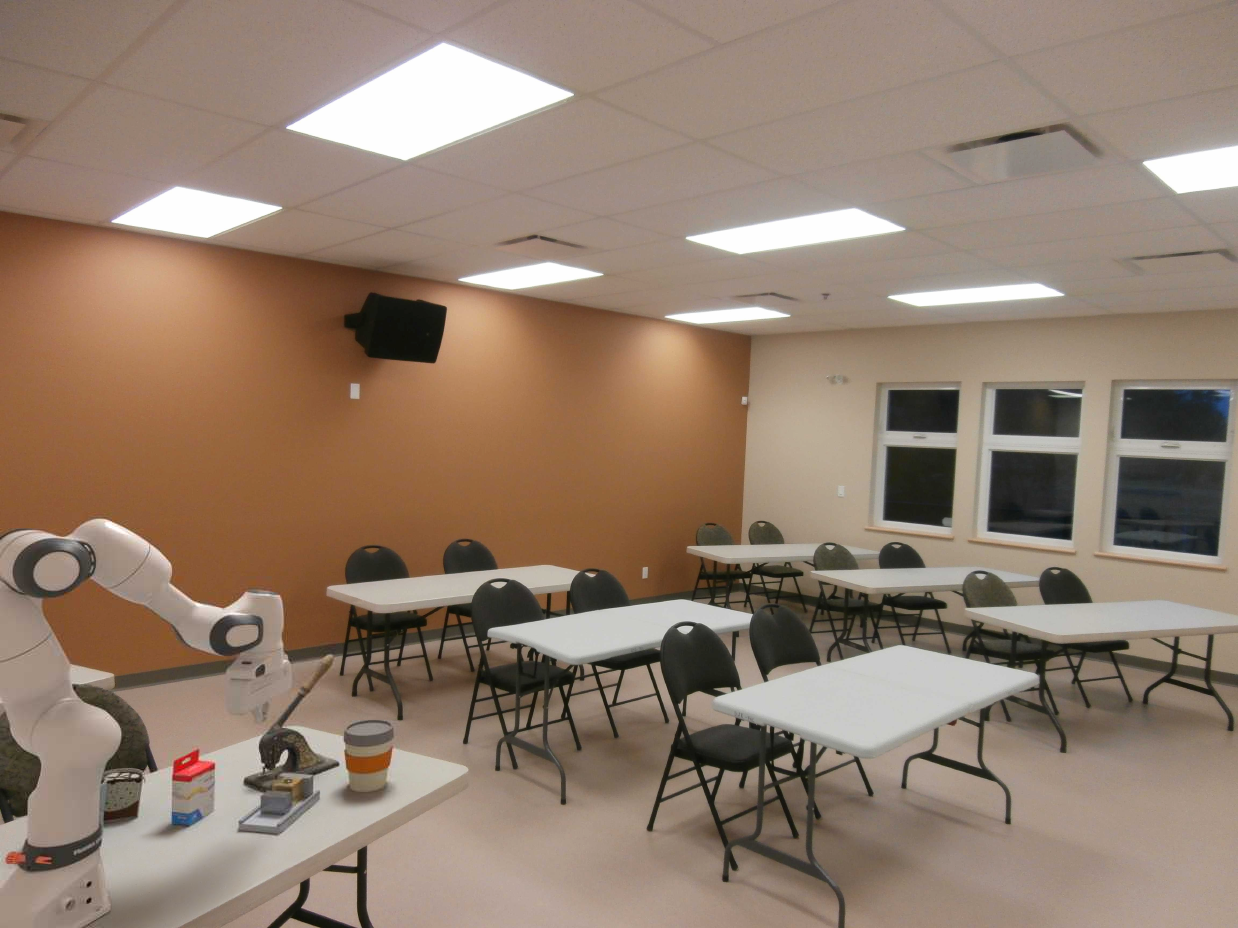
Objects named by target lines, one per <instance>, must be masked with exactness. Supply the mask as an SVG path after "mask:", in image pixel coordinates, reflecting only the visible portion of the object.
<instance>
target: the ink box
mask: <svg viewBox="0 0 1238 928" xmlns="http://www.w3.org/2000/svg"><path fill="white" fill-rule="evenodd" d="M199 756H200V749H199V748H197V749H195V750H193V751H190V752H189V753H187V754H184V755H182V756H181V757H179V758H176V759H175V760H174V761H173V763H172V764H173V765H172V773H171V825H179V826H188V827H190V826H191V825H193V824H195V823H197V822H198V821H199V820H201V819H203V818H205V817H206V816H208V815H210V814H211V813H213V812H214V811H215V789H216V788H215V786H216V784H215V783H216V761H215V762H214V761H209V760H199V759H200V757H199ZM186 759H189V760H188V761H186ZM184 761H185V762H184Z"/></svg>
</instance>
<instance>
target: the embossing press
mask: <svg viewBox="0 0 1238 928" xmlns="http://www.w3.org/2000/svg"><path fill="white" fill-rule="evenodd" d="M334 659H335V658H334V654H332V653H329V654H327V655H326V656H325V657H323V658H322V659H320V661H319V662H318V664H317V665H316V666H315V668H314V670H313V672H312V673H311V675H310V676H309V677H308V679H306V681H305V682H304V683H303V684H302V685H301V687H300V689H299V691H297V694H296V696H295V697H294V699H293V700H292V702H291V703H290V704H289V705H288V707H286V709H285V710H284V711H283V713H282V714H281V715H280V716H279V718H278V719H277V720H276V722H274V723H273V724H272V725H271V726H270V728H269V729H268V731H267V732H265V733H264V734H263V735H262V737H261V738H260V740H259V742H258V751H259V754H260V762H261V764H264V766H262V767H261V768H262V771H259V772H257V773H253V774H250V775H248V776H246V777H244V778H243V784H244V785H247V786H250V787H253V788H255V789H257V790H262V791H264V792H266V791H268V790H270V791H273V784H275V783H276V782H277V781H278V777H279V775H281V774H282V773H293V774H306V775H313V776H314V775H316V774H319V773H322V771H323V772H324V771H328V770H331V769H333V768H336V767H338V766H337V765H339V766H340V762H339V761H338V760H336V759H333V758H330V757H327V756H324V755H323V754H319V753H315V751H313V749H312V748H311V747H310V745H309V743H308V741H307V739H306V738H305V736H304V735H303V734H302V733H301V732H299V731H297V730H295V729H291V728H287V727H283V726H284V724H285V723H286V722H287V720H288V719H289V717H290V716H291V714H292V713H293V712H294V711H295V710H296V708H297V707H298V705H300V703H301V702H302V700H303V699H304V698H305V697H306V696H308V695H309V694H310V693H311V691H313V688H314V687H315V685H316V684H317V683H318V682H319V680H320V679H322V677H323V676H324V675H325V674H326V673H328V671H329V669H330V668H331V667H332V666H333V662H334ZM285 751H287V758H286V760H285V762H284V764H281V765H278V766H276V765H277V764H278V763H280V759H281V757H282V755H283V753H284V752H285ZM335 766H336V767H335ZM330 768H331V769H330Z"/></svg>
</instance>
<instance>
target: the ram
mask: <svg viewBox="0 0 1238 928" xmlns="http://www.w3.org/2000/svg"><path fill="white" fill-rule="evenodd" d="M291 803H292V792H282V791H273V790H268V791H264V793H262V794H261V795H260V804H261V807H260V813H269V814H281V815H285V814H286V813H287V812H288V811H290V810H291Z"/></svg>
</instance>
